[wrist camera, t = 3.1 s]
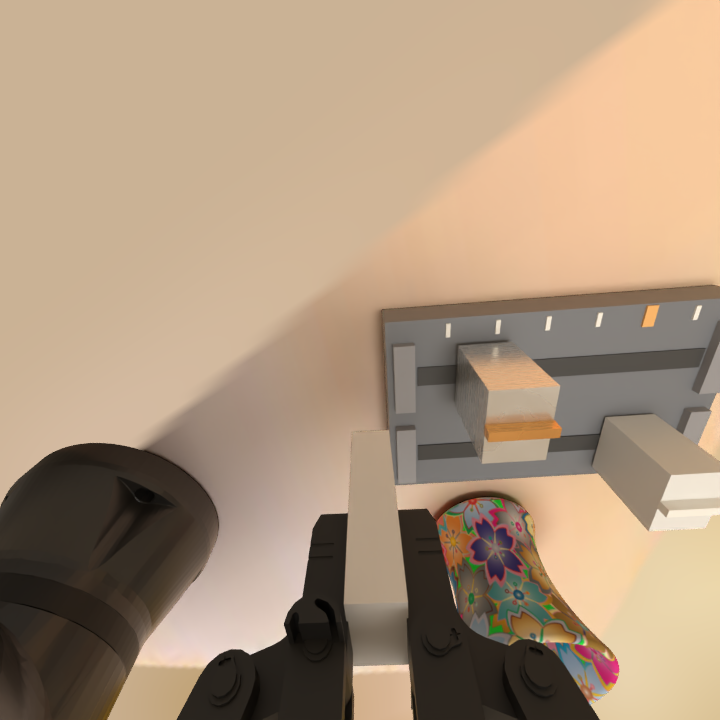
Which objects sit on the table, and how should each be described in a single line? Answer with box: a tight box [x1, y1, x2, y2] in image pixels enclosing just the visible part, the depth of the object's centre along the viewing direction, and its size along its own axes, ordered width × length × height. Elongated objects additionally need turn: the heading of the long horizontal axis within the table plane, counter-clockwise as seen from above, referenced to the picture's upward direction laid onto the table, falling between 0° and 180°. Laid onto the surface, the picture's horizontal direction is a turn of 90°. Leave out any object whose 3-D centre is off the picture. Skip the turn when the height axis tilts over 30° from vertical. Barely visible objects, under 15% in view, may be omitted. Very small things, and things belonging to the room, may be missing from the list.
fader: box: [455, 342, 562, 464], centre depth 17 cm, size 3×4×6 cm
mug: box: [436, 497, 619, 705], centre depth 25 cm, size 12×9×11 cm
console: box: [382, 285, 720, 531], centre depth 20 cm, size 20×12×8 cm, turn 94°
